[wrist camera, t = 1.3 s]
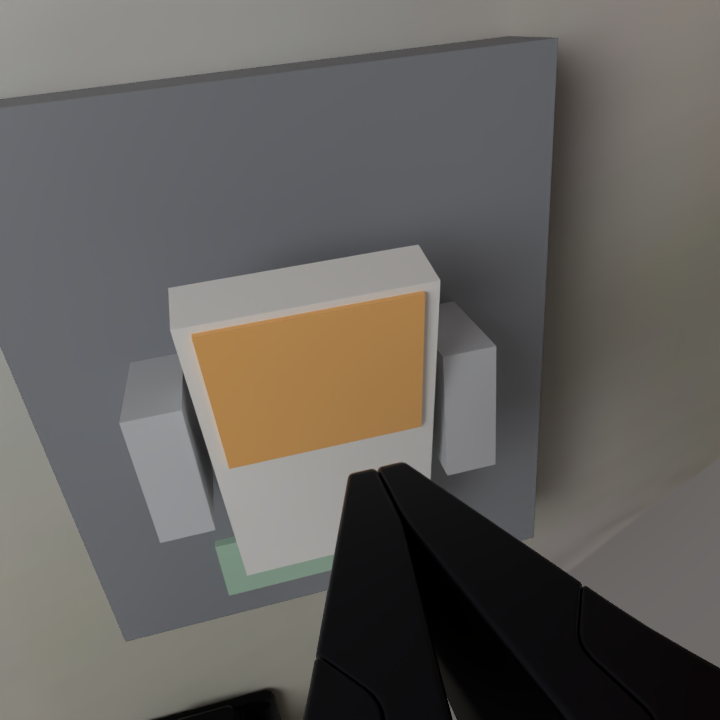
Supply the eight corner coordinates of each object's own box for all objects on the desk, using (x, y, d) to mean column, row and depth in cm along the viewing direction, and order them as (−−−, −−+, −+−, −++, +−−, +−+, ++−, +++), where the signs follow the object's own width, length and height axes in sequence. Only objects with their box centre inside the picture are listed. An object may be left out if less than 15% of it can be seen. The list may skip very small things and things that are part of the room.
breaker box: (502, 490, 28) (574, 599, 23) (132, 579, 26) (116, 725, 20) (509, 36, 19) (630, 40, 14) (-52, 105, 17) (-165, 143, 11)
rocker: (413, 492, 22) (429, 534, 21) (241, 533, 21) (247, 579, 20) (418, 244, 15) (442, 284, 14) (168, 288, 14) (170, 334, 13)
